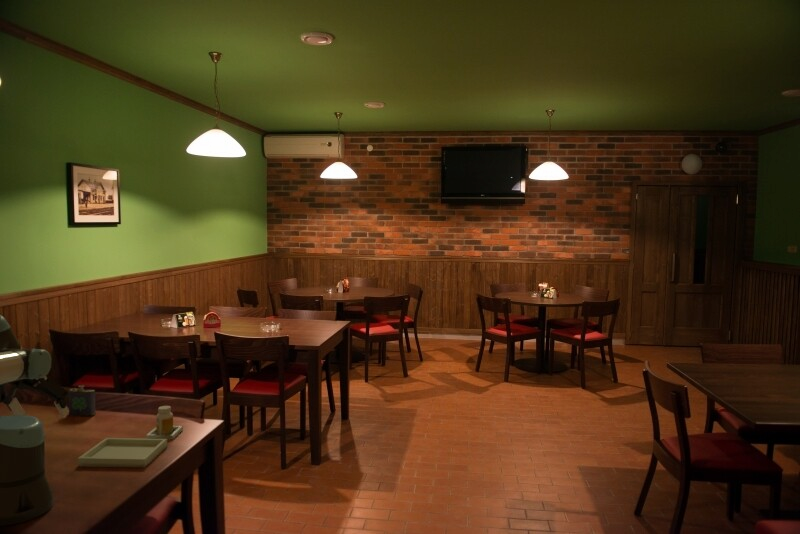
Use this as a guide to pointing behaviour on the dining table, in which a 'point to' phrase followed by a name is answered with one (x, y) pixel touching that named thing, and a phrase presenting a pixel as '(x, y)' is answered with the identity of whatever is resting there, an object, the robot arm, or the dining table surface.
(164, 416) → the supplement bottle
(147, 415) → the dining table surface
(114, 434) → the dining table surface
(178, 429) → the holder ring
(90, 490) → the dining table surface
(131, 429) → the dining table surface
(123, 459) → the tray
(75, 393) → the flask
